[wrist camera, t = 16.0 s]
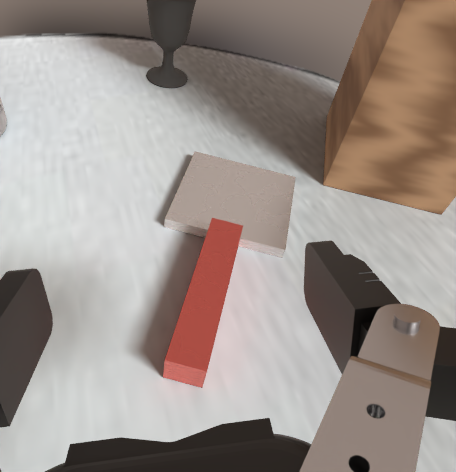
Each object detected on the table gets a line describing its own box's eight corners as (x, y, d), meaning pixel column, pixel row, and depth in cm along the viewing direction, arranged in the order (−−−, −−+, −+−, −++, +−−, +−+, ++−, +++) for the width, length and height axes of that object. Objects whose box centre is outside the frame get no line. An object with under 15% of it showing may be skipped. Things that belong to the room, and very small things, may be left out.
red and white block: (104, 361, 25) (101, 343, 23) (193, 159, 39) (196, 138, 37) (260, 403, 25) (270, 388, 23) (292, 185, 39) (300, 164, 37)
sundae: (133, 65, 49) (129, -87, 38) (184, 63, 52) (196, -81, 41) (146, 93, 46) (146, -66, 34) (201, 90, 48) (218, -60, 37)
